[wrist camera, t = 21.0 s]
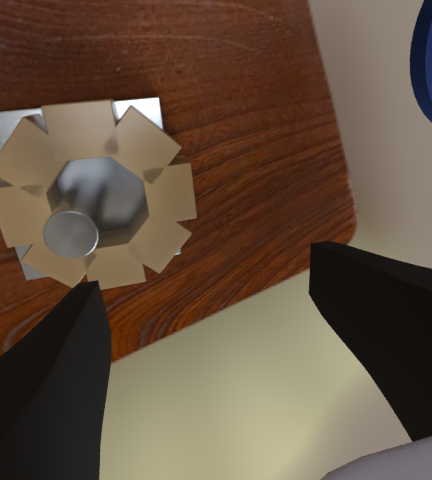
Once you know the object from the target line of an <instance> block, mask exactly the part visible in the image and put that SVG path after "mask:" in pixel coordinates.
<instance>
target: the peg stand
mask: <svg viewBox="0 0 432 480" xmlns="http://www.w3.org/2000/svg"><path fill="white" fill-rule="evenodd" d="M114 104H115V109H116V114H117V120H118V121H119V119H120V118H121V117H122V115H123V114H124V112H125V111H126V109H127V108H128V107H129V105H130V104H132V105H133V106H134V107H135V108H137V109H138V110H139V111H140V112H142V113H143V114H144V115H145V116H146V117H148V118H149V119H150V120H151V121H153V122H154V123H155V124H156V125H158V126H159V127H160V128H161V129H162V130H164V124H163V117H162V110H161V103H160V97H159V96H152V97H142V98H131V99H120V100H114ZM33 114H39V115H40V116H41V117H43V113H42V110H41V107H35V108H24V109H14V110H3V111H0V151H1V149H2V147H3V146H4V144H5V143H6V141H7V140H8V138H9V137H10V135H11V134H12V132H13V131H14V129H15V127H16V126H17V124H18V123H19V121H20V120H21V118H22V117H24V116H28V115H33ZM43 118H44V117H43ZM0 180H1V178H0ZM56 183H57V186H58V190H59V194H60V197H61V200H60V202H59V203H58V205H57V206H56V208H55V209H54V211H53V212H52V214H51V215H50V217H49V218H48V220H47V221H46V223H45V225H44V228H43V237H44V241H45V243H46V245H47V246H48V248H49V249H50V250H51V251H52V252H54V253H55V254H57V255H59V256H61V257H64V258H70V259H75V258H81V257H84V256H86V255H88V254H89V253H91V252H92V251H93V250H94V249H95V247H96V245H97V243H98V240H99V235H100V232H101V231H107V230H114V229H120V228H127V227H129V226H130V224H131V223H132V222H133V220H134V219H135V218H136V216H137V215H138V214H139V212H140V211H141V210H142V209H143V207H144V206H145V205H146V203H147V201H146V195H145V190H144V184H143V180H142V179H141V178H139V177H138V176H137V175H135V174H134V173H132V172H131V171H130V170H128V169H127V168H125V167H124V166H123V165H121V164H120V163H118V162H117V161H116V160H114V159H113V158H111V157H110V156H108V157H100V158H91V159H83V160H75V161H70V162H69V164H68V165H67V167H66V168H65V169H64V171H63V172H62V174H61V175H60V177H59V178H58V179H57V181H56ZM30 245H31V244H28V245H22V246H16V247H14V249H15V252H16V254H17V257H18V260H19V263H20V266H21V268H22V271H23V274H24V277H25V280H33V279H39V278H44V277H50V276H48V275H46V274H44V273H42V272H40V271H38V270H36V269H34V268H33V267H31V266H29V265H27V264H25V263H23V262H21V259H22V257H23V256H24V254H25V252H26V251H27V249H28V248H29V246H30ZM178 254H181V248H180V249H179V250H178V251H177V253H176V254H175V255H178Z"/></svg>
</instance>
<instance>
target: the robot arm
mask: <svg viewBox="0 0 432 480" xmlns="http://www.w3.org/2000/svg"><path fill="white" fill-rule="evenodd" d="M309 295H310V296H311V298H312V300H313V301H314V303H315V305H316V307H317V308H318V310H319V312H320V313H321V315H322V316H323V318H324V319H325V320H326V321H327V323H328V324H329V325H330V326H331V328H332V329H333V330H334V331H335V332H336V334H337V335H338V336H339V337H340V338H341V340H342V341H343V342H344V343H345V344H346V346H347V347H348V348H349V349H350V350H351V352H352V353H353V354H354V355H355V357H356V358H357V359H358V360H359V361H360V363H361V364H362V365H363V366H364V367H365V369H366V370H367V372H368V373H369V374H370V376H371V377H372V379H373V380H374V382H375V383H376V384H377V386H378V388H379V389H380V391H381V392H382V394H383V395H384V397H385V398H386V400H387V401H388V403H389V404H390V406H391V407H392V409H393V411H394V412H395V414H396V415H397V417H398V419H399V420H400V422H401V423H402V425H403V427H404V428H405V430H406V431H407V433H408V435H409V437H410V438H411V440H412V442H411V443H407V444H404V445H400V446H397V447H393V448H390V449H387V450H383V451H380V452H376V453H373V454H370V455H366V456H362V457H360V458H358V459H356V460H354V461H352V462H350V463H347V464H346V465H343V466H341V467H339V468H337V469H335V470H333V471H331V472H328V473H327V474H326V475H325V476H324V477H323V478H322V479H321V480H432V269H431V268H426V267H421V266H417V265H413V264H409V263H405V262H401V261H398V260H394V259H390V258H387V257H384V256H380V255H377V254H374V253H370V252H367V251H364V250H361V249H357V248H354V247H351V246H347V245H344V244H340V243H336V242H331V241H324V242H318V243H312V244H311V254H310V278H309ZM110 365H111V330H110V326H109V322H108V318H107V314H106V310H105V306H104V302H103V298H102V294H101V290H100V286H99V282H98V280H96V281H90V282H84V283H78V284H77V285H76V286H75V287H74V288H73V289H72V290H71V291H70V292H69V293H68V294H67V295H66V296H65V297H64V298H63V299H62V300H61V301H60V302H59V303H58V304H57V305H56V306H55V307H54V308H53V310H52V311H51V312H50V313H49V314H48V315H47V316H46V317H45V318H44V319H43V320H42V321H40V322H39V323H38V324H37V325H36V326H35V327H34V328H33V329H32V330H31V331H30V332H29V333H28V334H26V335H25V336H24V337H23V338H22V339H21V340H20V341H19V342H18V343H16V344H15V345H14V346H13V347H12V348H10V349H9V350H8V351H7V352H5V353H4V354H3V355H2V356H0V480H99V467H100V442H101V431H102V422H103V415H104V408H105V402H106V395H107V387H108V380H109V373H110Z"/></svg>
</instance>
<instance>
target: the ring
mask: <svg viewBox="0 0 432 480" xmlns="http://www.w3.org/2000/svg"><path fill="white" fill-rule="evenodd" d="M41 110H42V113H43V117H44V118H43V117H41V116H40V115H39V114H33V115H28V116H24V117H22V118H21V120H20V121H19V123H18V124H17V126H16V127H15V129H14V131H13V132H12V134H11V135H10V137H9V138H8V140H7V141H6V143H5V144H4V146H3V147H2V149H1V151H0V178H1V180H0V229H1V232H2V234H3V237H4V240H5V243H6V245H7V247H8V248H9V247H16V246H22V245H28V244H31V245H30V246H29V248H28V249H27V251H26V252H25V254H24V256H23V257H22V259H21V262H23V263H25V264H27V265H29V266H31V267H33V268H34V269H36V270H38V271H40V272H42V273H44V274H46V275H48V276H50V277H52V278H54V279H56V280H58V281H60V282H62V283H64V284H66V285H68V286H70V287H72V288H74V287H75V286H76V285H77V284H78V283H79V282H80V280H81V279H82V278H83V277H84V275H85V274H86V275H87V279H88V282H90V281H96V280H98V282H99V286H100V290H102V289H108V288H113V287H119V286H124V285H130V284H135V283H140V282H145V281H146V274H145V265H146V266H148V267H149V268H151V269H153V270H154V271H156V272H158V273H160V272H161V271H162V270H163V269H164V267H165V266H166V265H167V264H168V263H169V261H170V260H171V259H172V258H173V256H174V255H175V254H176V253H177V251H178V250H179V249H180V248H181V246H182V245H183V244H184V243H185V242H186V240H187V239H188V238H189V237H190V235H191V234H192V232H191V229H190V227H189V225H188V222H187V220H188V219H195V218H197V214H196V205H195V196H194V188H193V179H192V170H191V163H190V162H189V161H188V159H187V158H186V157H185V156H184V155H179V156H176V154H177V153H178V152H179V150H180V149H181V148H182V147H181V145H180V144H179V143H178V142H177V141H176V140H175V139H174V138H172V137H171V136H170V135H169V134H167V133H166V132H165V131H164V130H162V129H161V128H160V127H159V126H158V125H156V124H155V123H154V122H153V121H151V120H150V119H149V118H148V117H146V116H145V115H144V114H143V113H142V112H140V111H139V110H138V109H137V108H135V107H134V106H133V105H132V104H130V105H129V107H128V108H127V109H126V111H125V112H124V114H123V115H122V117H121V118H120V119H119V121H118V120H117V114H116V109H115V104H114V99H113V98H110V99H100V100H89V101H78V102H67V103H57V104H49V105H42V106H41ZM108 156H110V157H111V158H113V159H114V160H116V161H117V162H118V163H120V164H121V165H123V166H124V167H125V168H127V169H128V170H130V171H131V172H132V173H134V174H135V175H137V176H138V177H139V178H141V179H142V180H143V184H144V190H145V195H146V201H147V203H146V205H145V206H144V207H143V209H142V210H141V211H140V212H139V214H138V215H137V216H136V218H135V219H134V220H133V222H132V223H131V224H130V226H129V227H127V228H120V229H114V230H107V231H101V232H100V235H99V240H98V243H97V245H96V247H95V249H94V250H93V251H92V252H91V253H89V254H88V255H86V256H84V257H81V258H75V259H70V258H64V257H61V256H59V255H57V254H55V253H54V252H52V251H51V250H50V249H49V248H48V246H47V245H46V243H45V241H44V237H43V228H44V225H45V223H46V221H47V220H48V218H49V217H50V215H51V214H52V212H53V211H54V209H55V208H56V206H57V205H58V203H59V202H60V200H61V197H60V194H59V190H58V186H57V183H56V181H57V179H58V178H59V177H60V175H61V174H62V172H63V171H64V169H65V168H66V167H67V165H68V164H69V162H70V161H75V160H83V159H91V158H100V157H108Z"/></svg>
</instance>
